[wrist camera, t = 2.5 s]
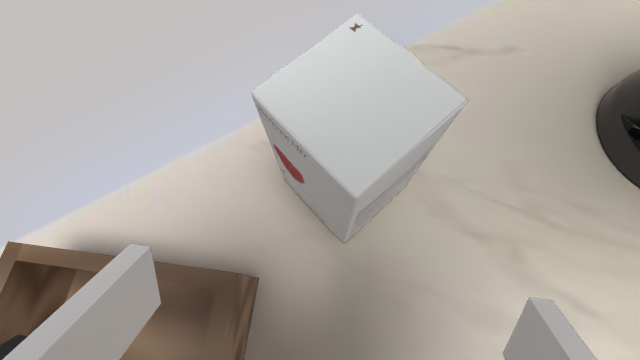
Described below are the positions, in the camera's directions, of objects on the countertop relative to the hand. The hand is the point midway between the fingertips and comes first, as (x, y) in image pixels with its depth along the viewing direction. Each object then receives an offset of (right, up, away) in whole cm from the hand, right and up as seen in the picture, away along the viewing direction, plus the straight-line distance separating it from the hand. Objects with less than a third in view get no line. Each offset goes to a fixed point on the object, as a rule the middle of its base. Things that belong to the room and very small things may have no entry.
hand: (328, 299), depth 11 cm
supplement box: (+2, +4, +20) cm, 21 cm away
